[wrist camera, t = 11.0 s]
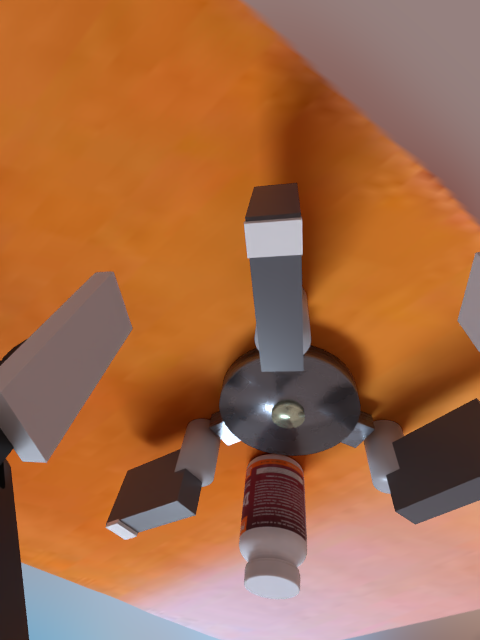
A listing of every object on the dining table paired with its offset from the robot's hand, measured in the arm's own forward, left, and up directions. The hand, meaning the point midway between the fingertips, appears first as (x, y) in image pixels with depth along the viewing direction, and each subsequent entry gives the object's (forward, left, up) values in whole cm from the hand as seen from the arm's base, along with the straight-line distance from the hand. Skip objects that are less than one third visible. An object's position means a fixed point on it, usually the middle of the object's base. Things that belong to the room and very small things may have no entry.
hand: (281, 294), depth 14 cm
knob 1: (+1, -27, -12) cm, 29 cm away
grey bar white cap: (+1, -3, -12) cm, 12 cm away
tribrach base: (+8, -15, -12) cm, 21 cm away
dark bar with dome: (+19, -11, -12) cm, 25 cm away
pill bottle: (+12, -26, -12) cm, 31 cm away
